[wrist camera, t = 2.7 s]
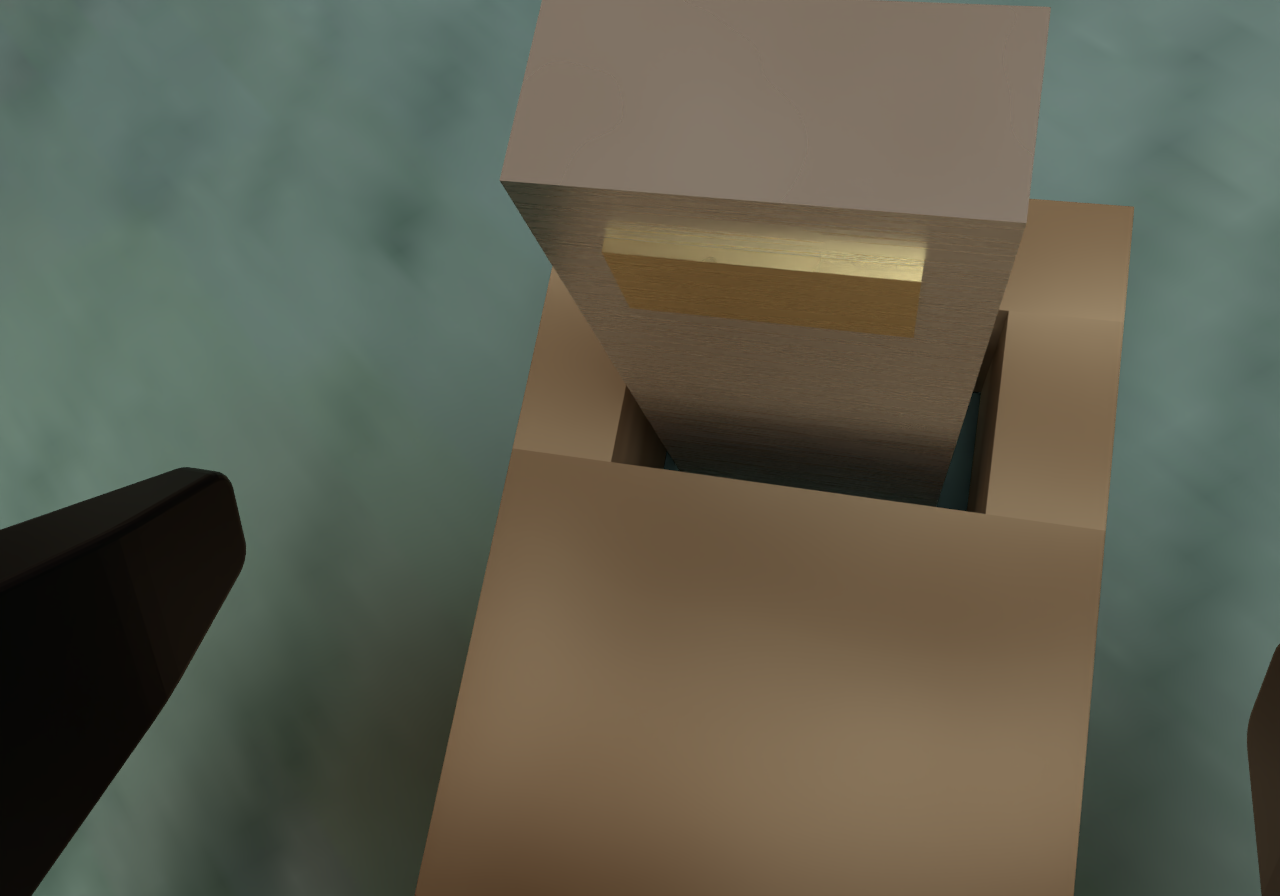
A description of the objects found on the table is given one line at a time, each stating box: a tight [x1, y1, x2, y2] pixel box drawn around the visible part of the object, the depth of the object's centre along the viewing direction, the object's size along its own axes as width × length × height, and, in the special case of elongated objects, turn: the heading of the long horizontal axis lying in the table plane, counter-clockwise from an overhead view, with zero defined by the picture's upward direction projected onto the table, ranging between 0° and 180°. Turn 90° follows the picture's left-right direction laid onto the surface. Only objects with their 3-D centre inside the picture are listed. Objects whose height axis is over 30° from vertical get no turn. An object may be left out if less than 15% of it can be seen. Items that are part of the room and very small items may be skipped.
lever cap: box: [500, 0, 1051, 507], centre depth 15 cm, size 2×4×12 cm, turn 80°
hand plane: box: [415, 199, 1134, 896], centre depth 16 cm, size 20×9×8 cm, turn 170°
